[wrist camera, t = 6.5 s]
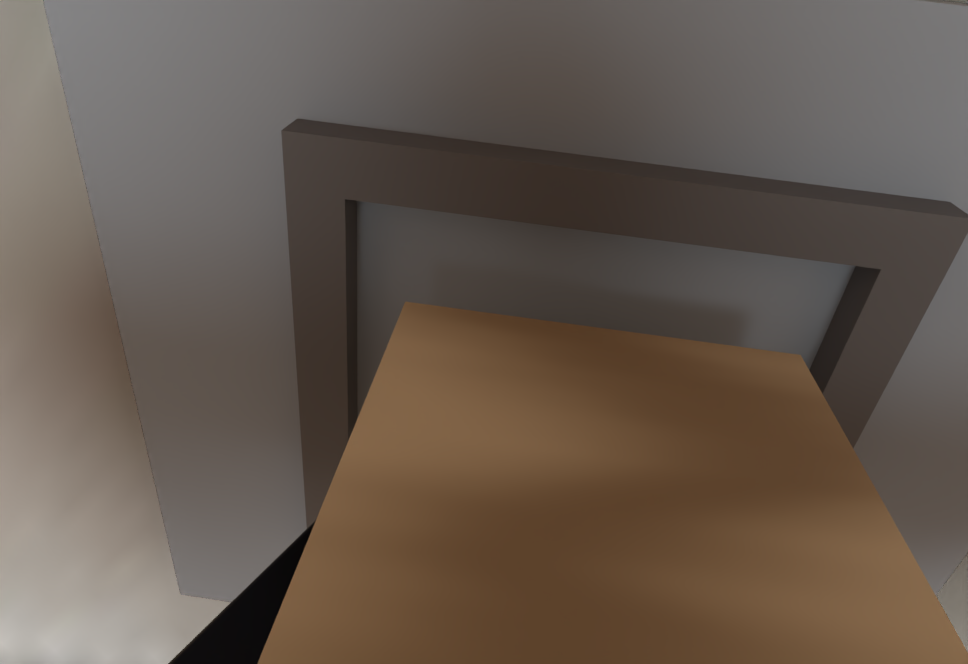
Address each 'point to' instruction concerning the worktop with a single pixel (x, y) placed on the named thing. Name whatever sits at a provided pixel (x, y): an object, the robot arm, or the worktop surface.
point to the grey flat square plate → (517, 218)
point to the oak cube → (600, 511)
